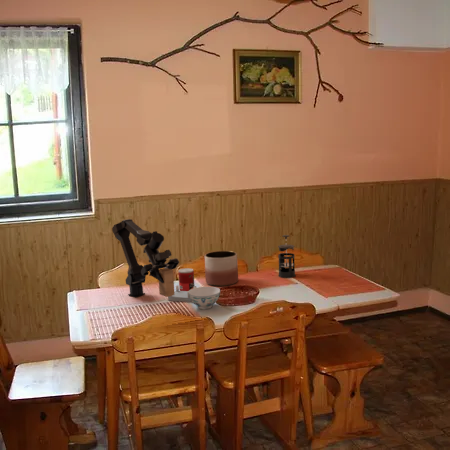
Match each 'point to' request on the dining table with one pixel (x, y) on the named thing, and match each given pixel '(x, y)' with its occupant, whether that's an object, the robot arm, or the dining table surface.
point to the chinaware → (204, 296)
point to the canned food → (186, 279)
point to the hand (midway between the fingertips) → (167, 281)
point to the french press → (282, 270)
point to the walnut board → (166, 282)
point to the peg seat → (180, 295)
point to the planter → (221, 268)
